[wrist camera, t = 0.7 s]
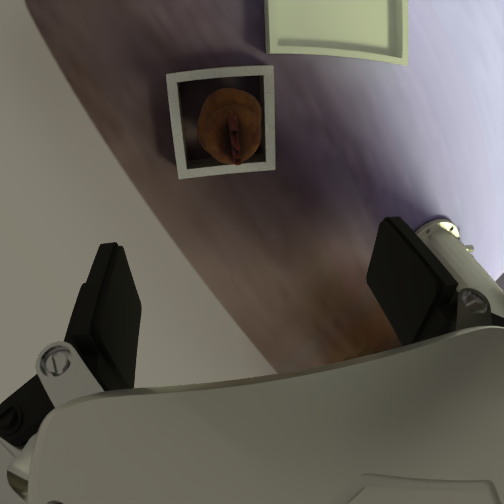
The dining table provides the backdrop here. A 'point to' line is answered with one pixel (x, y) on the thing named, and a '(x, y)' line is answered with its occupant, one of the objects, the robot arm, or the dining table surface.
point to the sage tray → (338, 28)
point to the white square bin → (211, 164)
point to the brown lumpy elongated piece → (230, 125)
